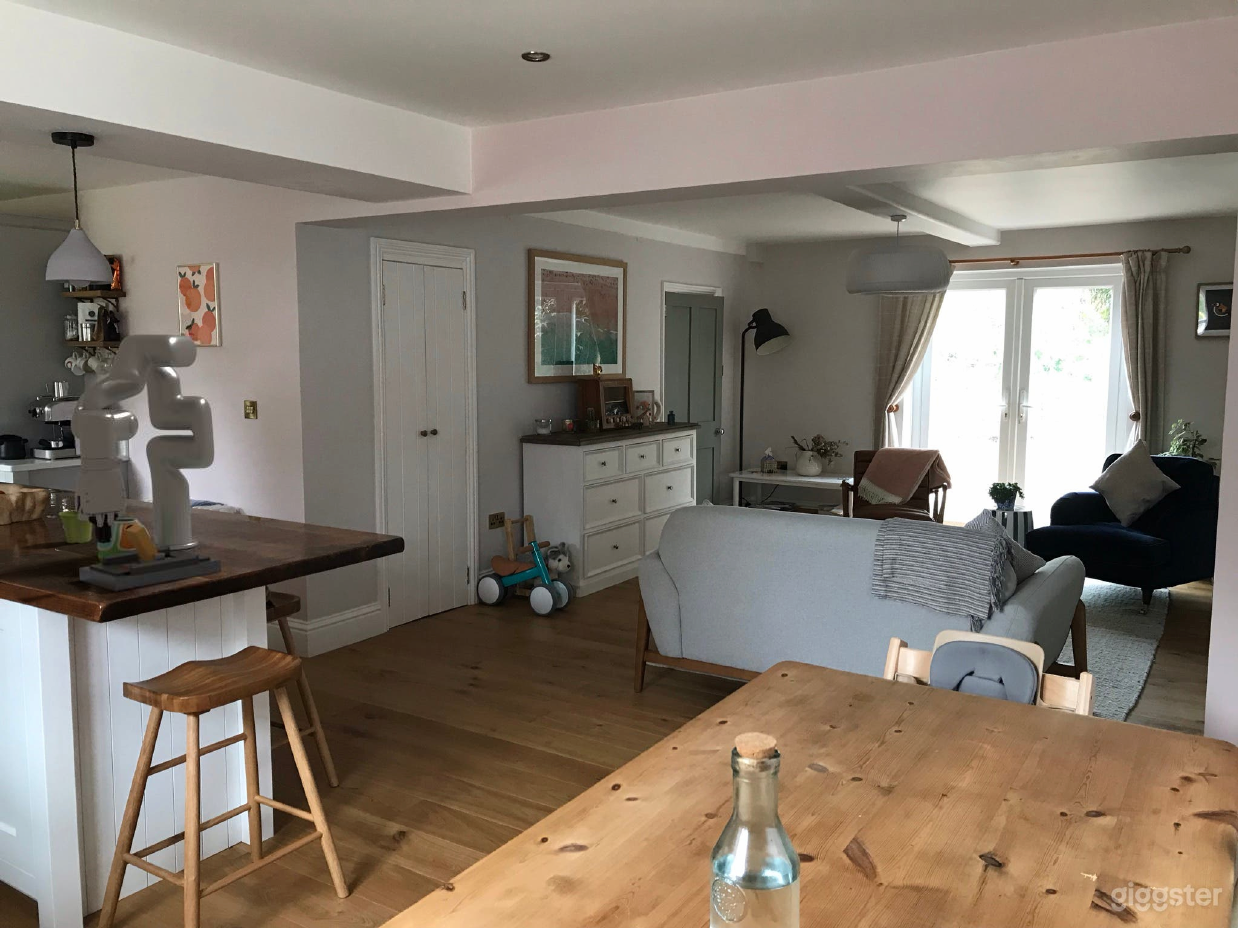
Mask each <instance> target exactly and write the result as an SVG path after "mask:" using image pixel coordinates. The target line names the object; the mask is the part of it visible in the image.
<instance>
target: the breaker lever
mask: <svg viewBox="0 0 1238 928" xmlns="http://www.w3.org/2000/svg"><path fill="white" fill-rule="evenodd" d="M144 527H145V526H144ZM144 527H141V526H136V525H133V526H132V527H130V528H128V529H127V530H125V531H126V533H127V534H128V536H129V538H130V540H131V541H132V543H133V545H134V547H135V549H136V550H137V552H138V554H139V556H140V557H141V559H142V561H145V562H153V554H158V551H157V550H156V548H155V546H154V544H153V542H154V541H153V540H152V539H151V536H150V534H149V532H148V530H147V529H146V530H147V531H146V530H145V528H146V527H145V528H144ZM147 532H148V533H147ZM148 534H149V535H148ZM149 536H150V537H149Z"/></svg>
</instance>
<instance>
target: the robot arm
mask: <svg viewBox="0 0 1238 928" xmlns="http://www.w3.org/2000/svg"><path fill="white" fill-rule="evenodd" d="M197 353H198V349H197V345H196V343H195V341H194V339H193V338H192V337H191V336H189V335H182V334H181V335H179V334H177V335H176V334H175V335H174V334H131V335H128V336H126V337H125V338H123V339H122V341H121V342H120V344H119V346H118V348H117V352H116V354H115V357H114V360H113V363H112V365H111V368H110V371H109V374H108V375H107V376H105V377H103V378H102V379H100V380H98V381H96V382H95V383H94V384H93V385H92V386H90V387H89V388H87V389H86V390H85V391H84V392H83V393H82V394H81V395H80V397H79V398H78V400H77V402H76V405H75V407H74V409H73V412H72V415H71V416H72V417H71V420H70V431H71V433H72V435H73V436H74V437H75V438H76V439H77V440H78V441H79V449H80V450H79V452H80V465H81V466H80V469H81V471H78V472H77V474H76V480H75V481H76V482H75V491H74V492H75V493H74V506H75V507H74V508H75V509H74V510H76V512H78V519H79V520H84V521H89V522H90V523H92V526H94V530H95V531H94V532H95V540H96V541H97V543H98V542H99V543H103V544H104V543H110V542H111V540H110V538H112V532H111V526H112V525H113V522H114V521H115V520H116V519H119V518H121V517H122V516H125V515H127V509H126V508H127V494H126V488H125V483H124V478H123V474H122V471H121V469H118V468H119V466H120V465H123V463H124V461H123V460H124V459H123V458H119V456H118V454H117V453H118V451H117V442H125V441H129V440H131V439H132V438H134V437H135V436H136V434H137V433H138V430H139V419H138V418H137V416H136V415H135V414H134V413H133V412H132V411H130V410H125V409H104V408H105V407H108V406H110V405H112V404H115V403H119V402H121V401H125V400H128V399H129V398H130V399H131V398H133V397H136V396H138V395H140V394H141V393H142V392H143V391H144V389H145V388H146V391H147V394H146V395H147V405H148V407H147V408H148V417H149V421H150V424H151V426H152V427H153V428H154V429H156V430H159V431H190V432H192V434H162V435H156V436H153V437H151V438H150V439H149V440H148V441H147V443H146V448H145V454H146V458H147V463H148V466H149V471H150V472H149V474H150V479H151V481H150V482H151V492H152V493H151V494H152V495H151V496H152V511H153V512H152V515H153V517H152V518H153V530H154V531H153V532H152V536H153V537H154V541H152V542H153V544H154V546H155V548H157V547H164V546H168V547H170V551H180V550H185V549H190V548H194V547H196V546H198V543H199V540H197V539H195V538H192V517H191V516H192V515H191V499H190V497H191V496H190V485H189V482H188V479H187V477H186V476H185V475H184V474H183V472H182V471H181V470H195V469H196V470H197V469H199V470H201V469H207V468H209V467H211V466H212V465H213V463H214V461H215V442H214V425H213V416H212V408H211V406H210V403H209V402H208V400H207V399H206V398H204V397H202V396H199V395H198V396H197V395H183V394H182V386H181V378H180V377H179V374H178V373H177V371H176V370H175V369H174V368H188V367H190V366H192V365H193V364H194V363H195V361H196V358H197V356H198V354H197ZM145 386H146V387H145ZM102 514H103V517H102ZM88 515H91V516H88Z"/></svg>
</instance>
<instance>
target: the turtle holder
mask: <svg viewBox="0 0 1238 928" xmlns="http://www.w3.org/2000/svg"><path fill="white" fill-rule="evenodd" d="M133 525H136V526H141V527H144V528H145V530H146V531H147V533H148V535H149V537H150V538H151V536H150V533H149V532H148V529H147V528H146V527H145V526H144V525H143V524H142V523H141V522H140V521H139V519H137V518H132V517H118V518H117V519H116V520H115V521H114V522H113V525H112V526H111V532H112V538H110V540H111V542H110V543H104V544H103V543H99V542H98V541H97V545H96V546H97V550H98V551H97V552H98V554H97V557H98V559H99V560H100V562H99V563H98V564H102V558H103V556H107V555H113V554H120V553H126V552H132V551H137V550H136V549H135V547H134V545H133V543H132V541H131V540H130V538H129V536H128V534H127V533H126V531H125V530H127V529H128V528H130V527H132V526H133Z"/></svg>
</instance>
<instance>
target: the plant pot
mask: <svg viewBox="0 0 1238 928" xmlns="http://www.w3.org/2000/svg"><path fill="white" fill-rule="evenodd" d="M58 516H60V520H61V521H62V526H63V530H64V535H65V540H66V543H67V544H75V543H79V544H83V543H88V542H90V541H91V540H92V529H93V524H92V523H90V522H89V521H84V520H79V519H78V512H76V509H71V510H64V511H60V512H59V513H58ZM88 516H91V515H88Z"/></svg>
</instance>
